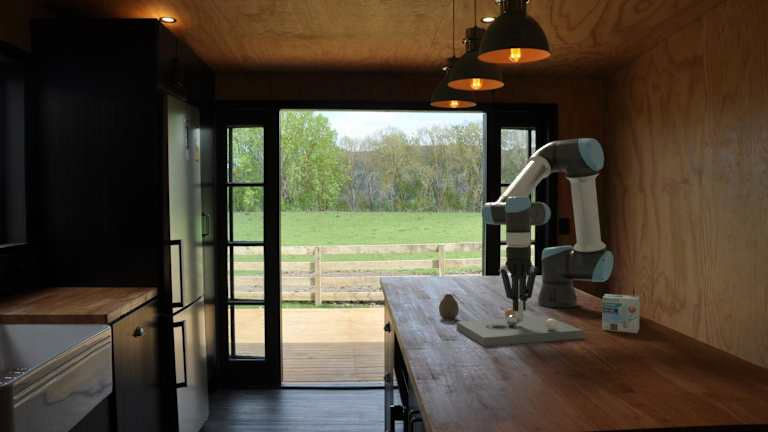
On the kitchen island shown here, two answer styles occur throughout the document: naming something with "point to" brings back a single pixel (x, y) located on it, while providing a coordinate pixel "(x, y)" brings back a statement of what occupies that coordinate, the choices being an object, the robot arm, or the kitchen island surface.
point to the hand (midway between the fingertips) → (519, 321)
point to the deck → (517, 331)
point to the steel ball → (512, 320)
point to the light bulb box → (620, 313)
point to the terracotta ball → (509, 312)
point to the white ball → (551, 324)
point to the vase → (448, 307)
